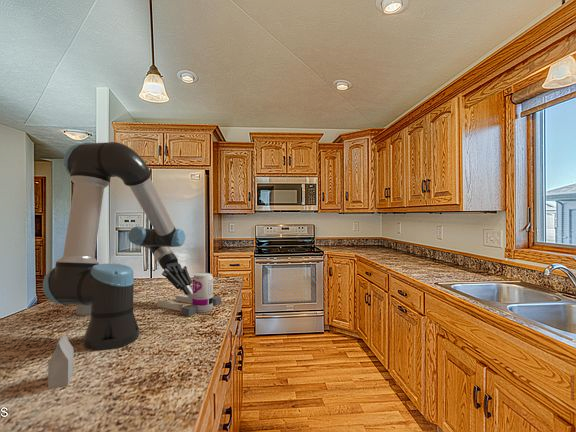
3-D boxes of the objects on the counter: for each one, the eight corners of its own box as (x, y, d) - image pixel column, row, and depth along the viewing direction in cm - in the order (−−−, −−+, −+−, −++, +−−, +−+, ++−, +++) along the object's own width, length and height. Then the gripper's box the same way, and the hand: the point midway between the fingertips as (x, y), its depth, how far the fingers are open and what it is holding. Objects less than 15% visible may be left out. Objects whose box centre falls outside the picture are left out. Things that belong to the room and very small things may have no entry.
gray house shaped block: (73, 372, 77) (73, 332, 77) (67, 385, 70) (68, 342, 71) (55, 375, 75) (55, 334, 75) (48, 389, 69) (48, 345, 69)
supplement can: (199, 314, 122) (199, 277, 122) (188, 310, 128) (189, 274, 128) (216, 310, 128) (216, 274, 128) (205, 306, 134) (206, 271, 134)
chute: (188, 316, 120) (189, 308, 120) (149, 309, 129) (149, 301, 129) (221, 303, 138) (221, 297, 138) (184, 297, 147) (184, 291, 147)
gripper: (172, 261, 146) (199, 301, 139) (149, 265, 135) (177, 308, 127) (181, 250, 144) (209, 290, 137) (158, 253, 132) (187, 297, 125)
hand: (193, 299), depth 132 cm, fingers closed
